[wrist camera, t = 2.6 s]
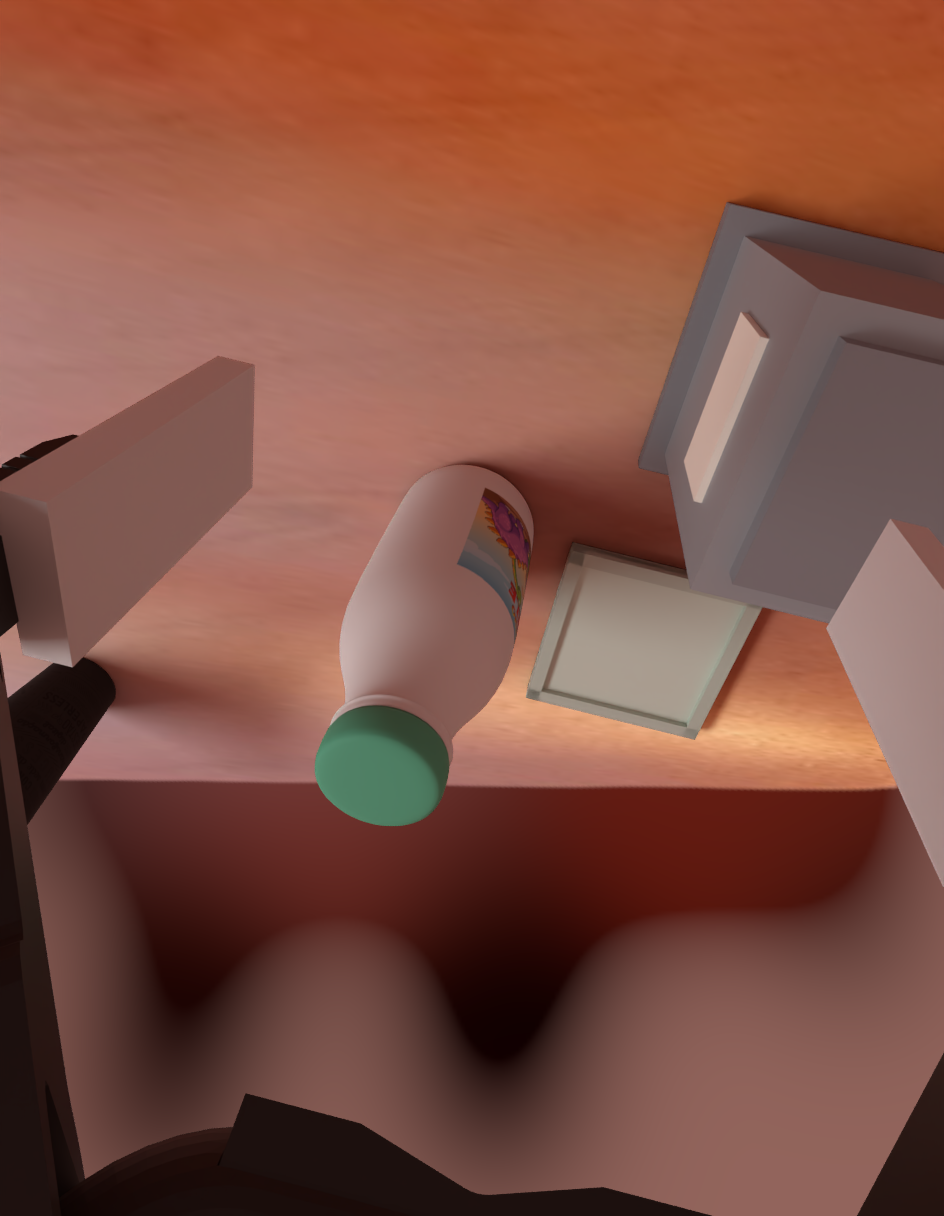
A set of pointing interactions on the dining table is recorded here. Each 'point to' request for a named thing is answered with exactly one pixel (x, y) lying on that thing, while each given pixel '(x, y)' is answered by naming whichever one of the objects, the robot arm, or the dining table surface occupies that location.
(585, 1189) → the robot arm
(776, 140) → the dining table surface
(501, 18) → the dining table surface
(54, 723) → the drinking cup
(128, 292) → the dining table surface
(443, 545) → the milk bottle
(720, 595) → the dispenser unit
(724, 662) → the pad
